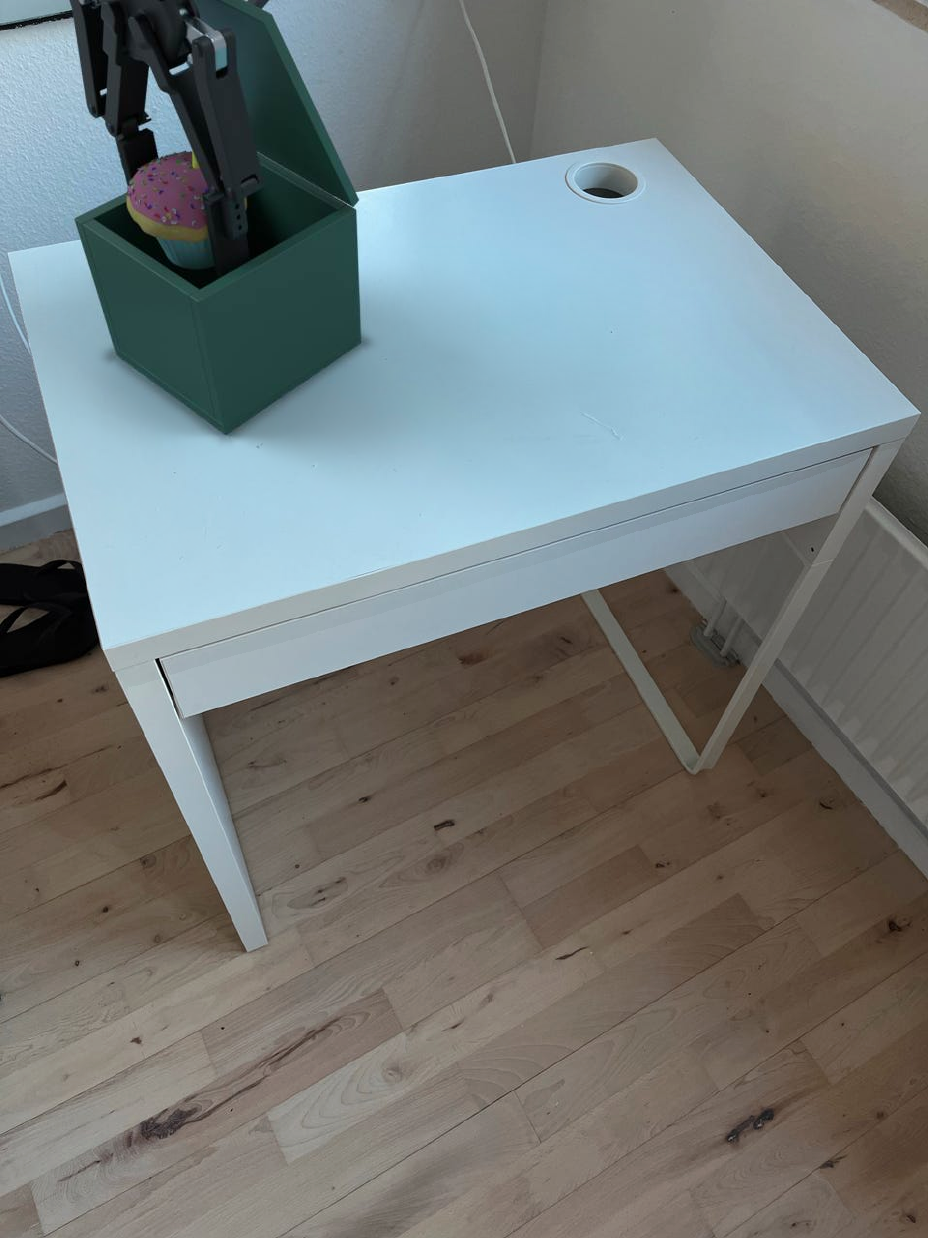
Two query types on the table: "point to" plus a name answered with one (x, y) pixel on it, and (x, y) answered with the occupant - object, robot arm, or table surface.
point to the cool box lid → (278, 97)
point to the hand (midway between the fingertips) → (192, 243)
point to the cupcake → (173, 208)
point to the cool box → (233, 300)
